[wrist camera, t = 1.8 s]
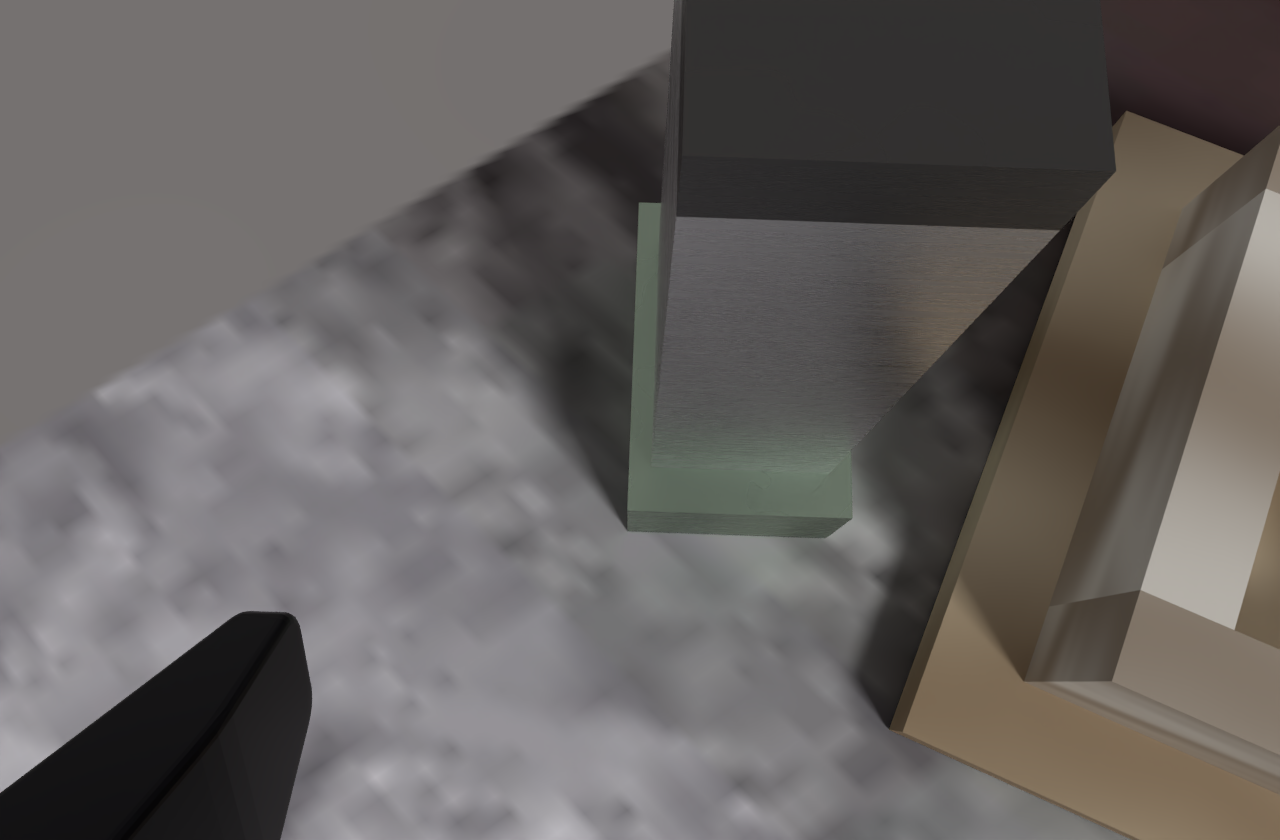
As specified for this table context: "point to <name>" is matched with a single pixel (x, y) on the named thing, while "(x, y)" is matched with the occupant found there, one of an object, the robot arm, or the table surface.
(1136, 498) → the block holder
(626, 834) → the table surface
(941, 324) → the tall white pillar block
